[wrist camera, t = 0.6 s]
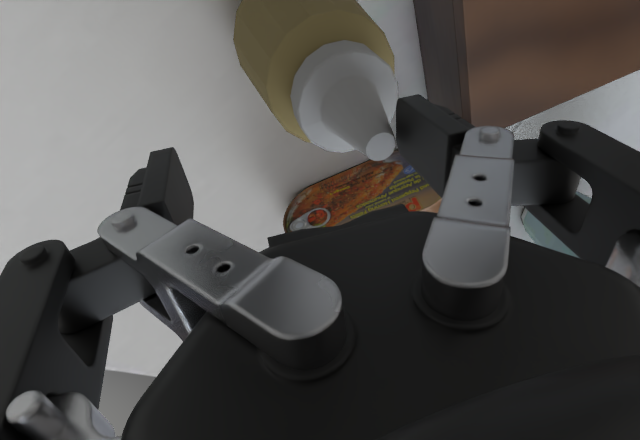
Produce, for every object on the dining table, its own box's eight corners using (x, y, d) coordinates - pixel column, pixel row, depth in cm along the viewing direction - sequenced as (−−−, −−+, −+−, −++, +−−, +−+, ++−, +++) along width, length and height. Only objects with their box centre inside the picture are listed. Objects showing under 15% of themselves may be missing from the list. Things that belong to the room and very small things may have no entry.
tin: (423, 136, 36) (473, 182, 30) (427, 163, 38) (475, 212, 32) (274, 199, 36) (292, 259, 30) (286, 223, 38) (305, 284, 32)
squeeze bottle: (346, -42, 26) (516, 25, 12) (336, 79, 31) (450, 219, 18) (222, -47, 24) (266, 27, 11) (233, 83, 29) (273, 243, 16)
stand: (409, -30, 28) (461, -19, 22) (642, -131, 27) (751, -146, 22) (429, 108, 34) (472, 142, 29) (615, 27, 34) (693, 46, 29)
